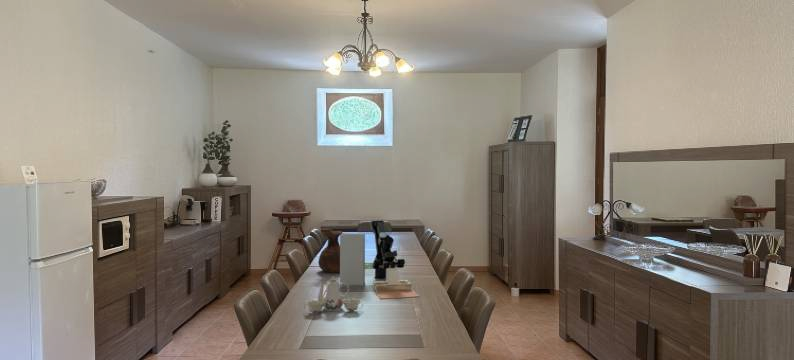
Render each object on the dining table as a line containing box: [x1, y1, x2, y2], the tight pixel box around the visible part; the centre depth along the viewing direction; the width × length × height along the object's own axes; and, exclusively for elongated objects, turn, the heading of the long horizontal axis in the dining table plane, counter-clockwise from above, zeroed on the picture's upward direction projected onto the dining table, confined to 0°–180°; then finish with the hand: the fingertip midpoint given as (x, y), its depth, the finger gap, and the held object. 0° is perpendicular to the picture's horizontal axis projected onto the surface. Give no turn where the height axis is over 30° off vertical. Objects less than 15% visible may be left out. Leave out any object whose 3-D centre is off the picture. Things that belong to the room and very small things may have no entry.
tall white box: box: [339, 233, 366, 286], centre depth 304 cm, size 14×6×30 cm, turn 84°
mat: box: [375, 289, 420, 300], centre depth 278 cm, size 13×22×1 cm, turn 104°
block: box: [385, 267, 400, 285], centre depth 289 cm, size 7×6×8 cm
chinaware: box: [304, 276, 364, 315], centre depth 248 cm, size 28×17×17 cm, turn 106°
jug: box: [317, 228, 344, 274], centre depth 340 cm, size 22×22×30 cm
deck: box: [372, 279, 412, 292], centre depth 291 cm, size 11×20×4 cm, turn 104°
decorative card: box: [365, 256, 398, 270], centre depth 359 cm, size 33×8×20 cm
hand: (391, 276), depth 293 cm, fingers closed
